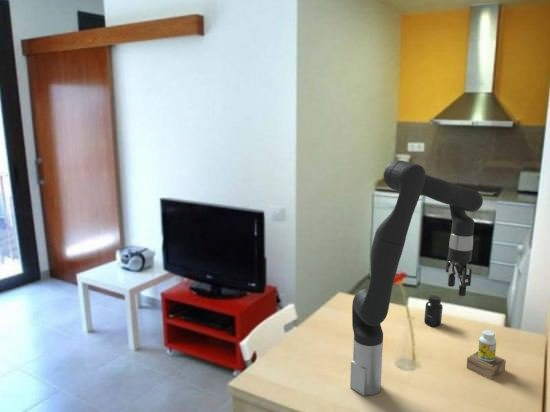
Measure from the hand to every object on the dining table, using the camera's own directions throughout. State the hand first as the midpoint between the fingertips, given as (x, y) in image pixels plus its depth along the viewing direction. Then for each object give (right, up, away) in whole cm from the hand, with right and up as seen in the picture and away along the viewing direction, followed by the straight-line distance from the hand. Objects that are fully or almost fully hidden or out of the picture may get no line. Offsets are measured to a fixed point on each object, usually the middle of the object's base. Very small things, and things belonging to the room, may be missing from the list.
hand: (456, 290), depth 163 cm
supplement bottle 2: (+10, -23, -1) cm, 25 cm away
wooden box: (+10, -27, 0) cm, 29 cm away
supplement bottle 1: (+3, -20, +33) cm, 39 cm away
